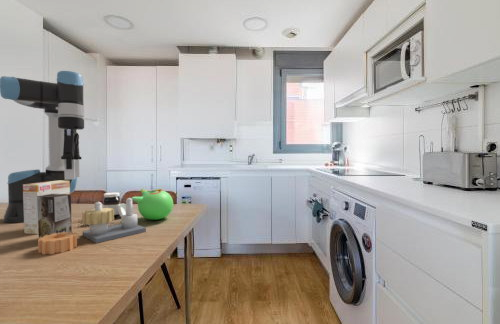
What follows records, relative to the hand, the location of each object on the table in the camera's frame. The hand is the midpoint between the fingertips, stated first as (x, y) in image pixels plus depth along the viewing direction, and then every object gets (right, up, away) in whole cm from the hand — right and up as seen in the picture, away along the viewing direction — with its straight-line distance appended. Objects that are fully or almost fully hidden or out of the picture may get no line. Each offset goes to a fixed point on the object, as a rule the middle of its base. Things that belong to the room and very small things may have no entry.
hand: (72, 178), depth 91 cm
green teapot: (+17, -22, +33) cm, 43 cm away
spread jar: (-4, -22, +38) cm, 44 cm away
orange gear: (-1, -23, -6) cm, 23 cm away
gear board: (+9, -22, +11) cm, 26 cm away
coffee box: (-10, -23, +5) cm, 25 cm away
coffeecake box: (-22, -22, +18) cm, 36 cm away
